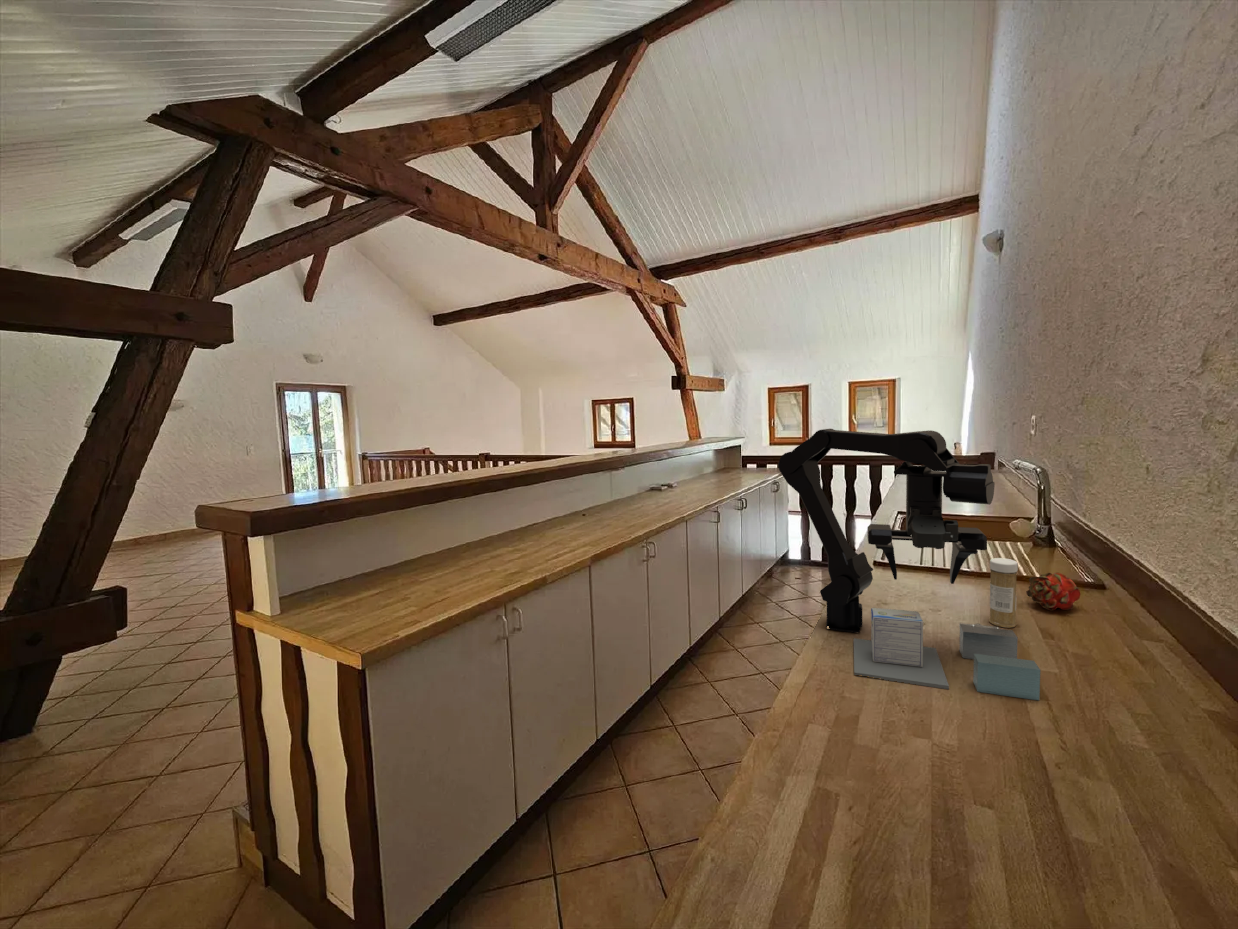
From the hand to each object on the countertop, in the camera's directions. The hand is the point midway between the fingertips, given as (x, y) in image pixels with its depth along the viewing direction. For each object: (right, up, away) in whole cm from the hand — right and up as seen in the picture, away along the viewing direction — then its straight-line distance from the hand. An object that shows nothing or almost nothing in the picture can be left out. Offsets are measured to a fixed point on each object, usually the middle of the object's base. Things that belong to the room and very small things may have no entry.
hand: (923, 581), depth 97 cm
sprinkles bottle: (+22, -11, +9) cm, 26 cm away
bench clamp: (+8, -13, -6) cm, 17 cm away
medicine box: (-7, -14, -4) cm, 16 cm away
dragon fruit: (+38, -10, +16) cm, 43 cm away
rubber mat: (-7, -14, -4) cm, 16 cm away
